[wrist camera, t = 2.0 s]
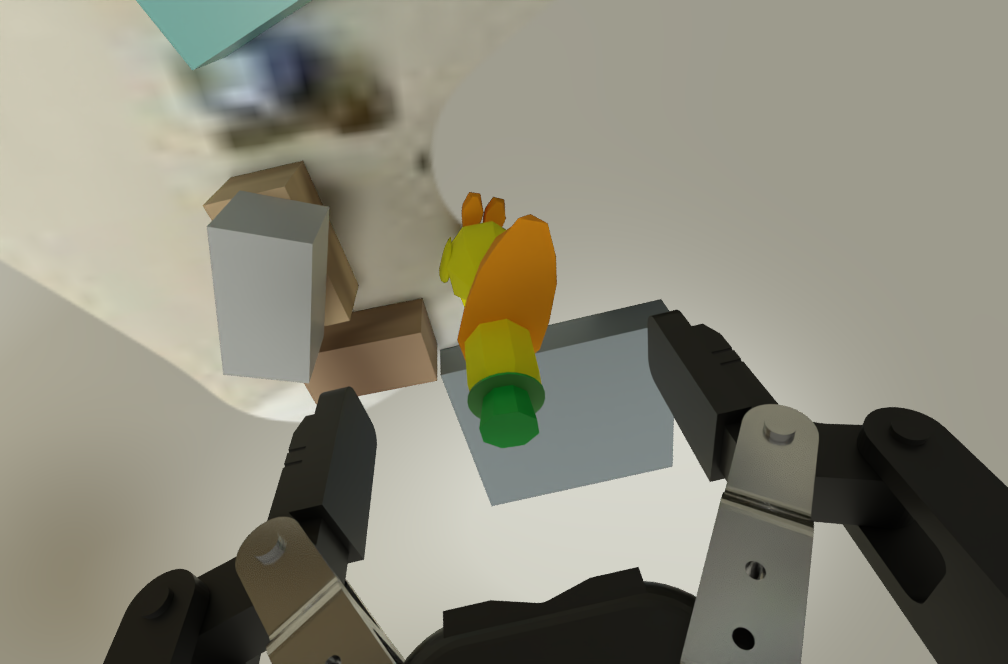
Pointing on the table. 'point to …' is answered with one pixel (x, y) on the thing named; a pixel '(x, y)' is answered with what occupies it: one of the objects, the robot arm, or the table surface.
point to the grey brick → (269, 285)
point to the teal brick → (215, 24)
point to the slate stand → (577, 409)
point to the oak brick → (299, 187)
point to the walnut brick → (377, 351)
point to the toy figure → (502, 315)
